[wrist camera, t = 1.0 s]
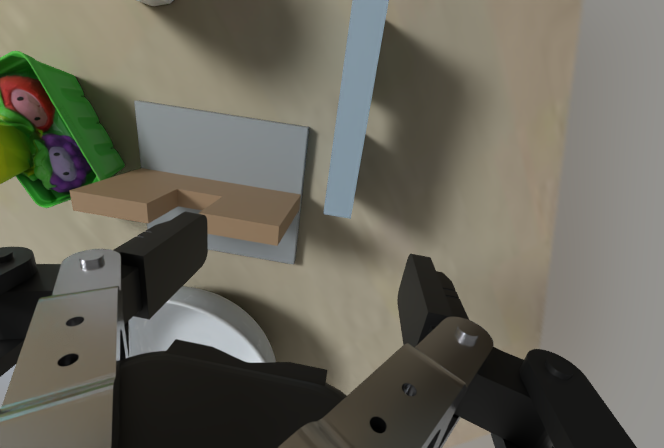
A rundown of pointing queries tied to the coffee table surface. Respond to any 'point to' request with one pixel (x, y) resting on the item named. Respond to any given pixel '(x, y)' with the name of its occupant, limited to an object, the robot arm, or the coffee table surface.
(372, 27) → the slotted plate
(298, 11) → the coffee table surface
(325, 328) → the coffee table surface
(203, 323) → the serving bowl
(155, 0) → the white cup
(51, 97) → the fruit basket
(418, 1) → the coffee table surface
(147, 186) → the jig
